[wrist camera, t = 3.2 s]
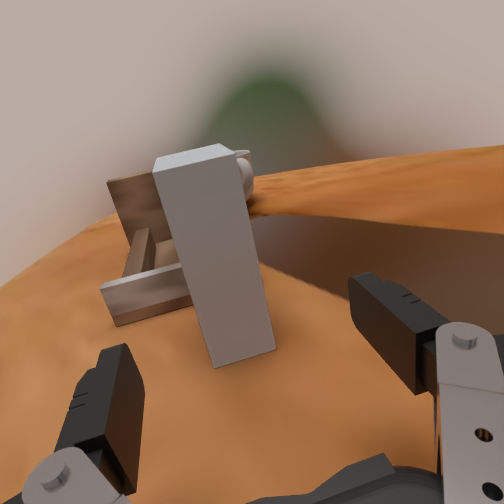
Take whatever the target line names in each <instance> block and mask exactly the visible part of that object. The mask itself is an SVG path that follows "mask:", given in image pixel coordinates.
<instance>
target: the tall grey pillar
mask: <svg viewBox="0 0 504 504" xmlns="http://www.w3.org/2000/svg"><path fill="white" fill-rule="evenodd" d="M152 174H153V177H154V180H155V184H156V187H157V190H158V193H159V196H160V200H161V203H162V206H163V209H164V212H165V215H166V219H167V222H168V225H169V228H170V231H171V234H172V238H173V241H174V244H175V247H176V250H177V253H178V257H179V260H180V263H181V266H182V269H183V272H184V276H185V279H186V282H187V285H188V288H189V292H190V295H191V298H192V301H193V304H194V307H195V311H196V314H197V317H198V320H199V323H200V326H201V330H202V333H203V336H204V339H205V342H206V345H207V349H208V352H209V355H210V358H211V361H212V364H213V368H214V369H215V368H218V367H221V366H224V365H227V364H231V363H234V362H237V361H240V360H243V359H247V358H250V357H253V356H256V355H259V354H263V353H266V352H269V351H272V350H275V349H276V344H275V339H274V335H273V330H272V325H271V320H270V315H269V311H268V306H267V301H266V296H265V292H264V287H263V282H262V277H261V272H260V268H259V263H258V258H257V253H256V249H255V244H254V239H253V234H252V229H251V225H250V220H249V215H248V210H247V205H246V201H245V196H244V191H243V186H242V181H241V177H240V172H239V167H238V162H237V158H236V153H234V152H233V151H231V150H229V149H227V148H226V147H224V146H223V145H221V144H215V145H211V146H207V147H202V148H198V149H194V150H189V151H185V152H180V153H176V154H172V155H168V156H163V157H159V158H157V159H156V162H155V165H154V169H153V172H152Z"/></svg>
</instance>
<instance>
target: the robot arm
mask: <svg viewBox="0 0 504 504" xmlns="http://www.w3.org/2000/svg"><path fill="white" fill-rule="evenodd" d="M348 288H349V300H350V311H351V317H352V320H353V322H354V325H355V326H356V328H357V329H358V331H359V332H360V333H361V334H362V335H363V336H364V337H365V339H366V340H367V341H368V342H369V343H370V344H371V346H372V347H373V348H374V349H375V350H376V351H377V352H378V354H379V355H380V356H381V357H382V358H383V359H384V360H385V362H386V363H387V364H388V365H389V366H390V367H391V369H392V370H393V371H394V372H395V373H396V374H397V375H398V377H399V378H400V379H401V380H402V381H403V382H404V383H405V385H406V386H407V387H408V388H409V389H410V390H411V391H412V393H413V394H414V395H415V396H416V395H419V394H421V393H424V392H427V391H429V392H430V393H431V394H432V396H433V423H434V472H431V471H428V470H424V469H420V468H415V467H409V466H392V465H391V463H390V462H389V460H388V459H387V457H386V455H385V454H384V453H381V454H379V455H376V456H373V457H371V458H368V459H365V460H362V461H360V462H357V463H354V464H352V465H349V466H346V467H344V468H343V469H342V470H340V471H339V472H338V473H336V474H335V475H334V476H332V477H331V478H330V479H328V480H327V481H326V482H324V483H323V484H322V485H320V486H319V487H318V488H316V489H315V490H314V491H312V492H310V493H308V494H303V495H290V496H277V497H264V498H260V499H257V500H254V501H252V502H249V503H246V504H504V334H503V335H491V334H490V333H489V332H488V331H486V330H485V329H483V328H481V327H479V326H476V325H473V324H469V323H463V322H450V321H449V320H448V319H446V318H445V317H444V316H442V315H441V314H440V313H438V312H437V311H436V310H434V309H433V308H431V307H430V306H429V305H427V304H426V303H425V302H423V301H421V300H420V299H419V298H418V297H416V296H415V295H412V293H411V292H410V291H409V290H407V289H406V288H404V287H403V286H401V285H399V284H396V283H393V282H391V281H384V282H383V281H382V280H380V279H379V278H378V277H377V276H375V275H374V274H373V273H371V272H366V273H363V274H359V275H356V276H352V277H350V278H349V279H348ZM144 400H145V390H144V384H143V380H142V377H141V375H140V372H139V370H138V368H137V365H136V363H135V361H134V359H133V356H132V354H131V352H130V349H129V347H128V346H127V344H126V343H123V344H120V345H116V346H113V347H110V348H106V349H103V350H101V352H100V355H99V358H98V362H97V365H96V368H93V369H89V370H87V372H86V373H85V374H84V376H83V377H82V378H81V379H80V381H79V382H78V383H77V386H76V389H75V392H74V395H73V400H71V403H70V406H69V411H68V412H67V415H66V418H65V421H64V424H63V427H62V430H61V433H60V435H59V438H58V441H57V444H56V447H55V450H54V453H53V454H51V455H50V456H48V457H47V458H45V459H44V460H43V461H42V462H41V463H40V464H38V466H37V467H36V468H35V469H34V470H33V471H32V472H31V474H30V475H29V477H28V478H27V480H26V482H25V484H24V487H23V490H22V492H21V493H19V494H17V495H16V496H14V497H13V498H11V499H9V500H8V501H6V502H4V503H3V504H132V503H131V502H130V501H129V500H128V499H127V497H126V496H127V495H130V494H133V493H136V490H137V479H138V467H139V456H140V445H141V433H142V422H143V411H144Z"/></svg>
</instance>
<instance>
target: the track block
mask: <svg viewBox="0 0 504 504" xmlns="http://www.w3.org/2000/svg"><path fill="white" fill-rule="evenodd" d="M152 172H153V170H151V171H146V172H142V173H138V174H134V175H129V176H125V177H121V178H116V179H112V180H108V181H107V186H108V189H109V191H110V194H111V197H112V199H113V202H114V205H115V207H116V210H117V213H118V215H119V218H120V221H121V223H122V226H123V229H124V231H125V234H126V237H127V239H128V242H129V245H130V247H131V249H130V252H129V255H128V259H127V262H126V265H125V269H124V272H123V275H122V278H120V279H116V280H113V281H109V282H105V283H102V285H101V288H100V291H101V293H102V295H103V298H104V300H105V302H106V304H107V307H108V309H109V311H110V314H111V316H112V318H113V320H114V323H115V325H116V327H117V326H121V325H124V324H128V323H131V322H135V321H138V320H142V319H145V318H149V317H152V316H156V315H159V314H163V313H166V312H170V311H173V310H177V309H180V308H184V307H187V306H191V305H194V304H193V301H192V298H191V295H190V292H189V288H188V285H187V282H186V279H185V276H184V272H183V269H182V266H181V263H180V260H179V257H178V253H177V250H176V247H175V244H174V241H173V238H172V234H171V231H170V228H169V225H168V222H167V219H166V215H165V212H164V209H163V206H162V203H161V200H160V196H159V193H158V190H157V187H156V184H155V180H154V177H153V174H152Z"/></svg>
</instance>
